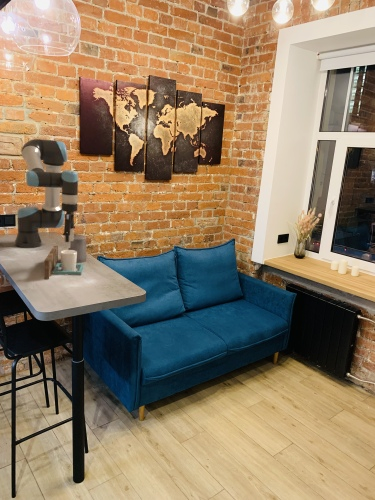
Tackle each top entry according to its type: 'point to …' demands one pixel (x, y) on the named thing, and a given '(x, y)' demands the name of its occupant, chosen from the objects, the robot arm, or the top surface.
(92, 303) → the top surface
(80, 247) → the pillar candle
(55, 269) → the keeper frame
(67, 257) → the white cup
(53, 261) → the brown wooden board
